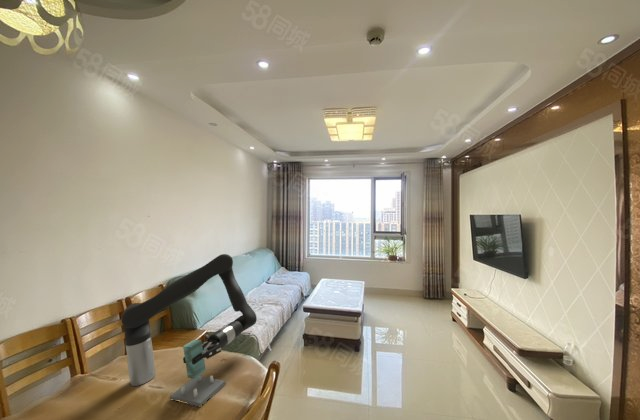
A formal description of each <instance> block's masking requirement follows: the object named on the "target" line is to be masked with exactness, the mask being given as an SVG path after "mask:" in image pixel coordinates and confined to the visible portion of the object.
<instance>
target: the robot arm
mask: <svg viewBox="0 0 640 420" xmlns="http://www.w3.org/2000/svg"><path fill="white" fill-rule="evenodd" d="M233 262H234V260H233V257H232V256H231V255H229V254H227V253H224V254H219V255H218V256H216V257H214V258H213V259H211V261H209V262H207V263H205V265H203V266H201V267H199V268H198V269H197V268H196V269H195V270H193V271H192V272H190V273H188V274H186V275H184V276H182V277H180V278H178V279H177V280H175V281H173V282H171V283H170V284H168V286H166V287H165V288H164V289H162V290H161V291H160V292H158V293H157V294H156V295H155V296H153V297H151V298H149V299H147V300H145V301H143V302H135V303H132V304H129V305H128V306H127V307H126V308H125V309H124V311H123V312H122V314H121V315H122V316H121V324H122V326H123V328H124V329H123V330H124V344H125V350H126V357H127V370H128V376H129V383H130V385H131V387H137V386H140V385H144V384H146V383H148V382H150V381H151V380H153V379H154V378H155V377H156V374H157V373H156V372H157V371H156V365H155V363H156V362H155V358H154V349H153V348H154V347H153V343H152V333H151V324H150V319H152V318H153V317H155V316H156V315H157V314H160V313H161V311H163V310H166V309H167V308H169V307H172V305H175V304H177V303H178V302H180V301H181V300H183V299H185V298H187V297H189V295H192V294H193V293H195V292H196V291H198V290H199V289H200V288H201V287H202V286H203V285H204V284H205V283H207V282H208V281H209V280H210V279H212V278H213V277H215V276H217V275H218V276H219V277H220V279H221V282H222V283H223V285H224V287H225V288H224V289H225V291H226V293H227V295H228V299H229V302H230V304H231V307H232V309H233V311H234V312H236V313H237V312H240V313H241V314H242V315H240V316H239V317H237V318H235V319H234V320H233V321H231V322H230V323H228V324H226V325H225V326H223V327H221V328H219V329H217V330H216V331H215V332H213V333H211V334H210V335H209V336H208V338H207V340H206V341H205V342H202V347H203V351H202V352H201V354H198V355H197V356H195V357H194V358H193V359H192V364H193V365H194V364H196V363H197V362H199V361H200V360H201V359H204V360H205V359H206V360H208V359H210V358H212V357H214V356H216V355H218V354H219V353H221V352H222V349H223V348H225V347H226V346H228V345H229V344H230V343H231V342H233V341H234V339H236V338H237V337H238V336H240V335H241V334H242V333H243V332H245V331H247V330H248V329H249V328H251V327H253V326H254V325H256V323H257V319H258V318H257V314H256V312H255V311H254V310H253V309H252V307H251V305H249V303H248V301H247V299H246V297H245V294H244V292H243V290H242V288H241V286H240V285H239V283H238V281H237V279H236V277H235V274H234V270H233V269H234V268H233V264H234V263H233ZM182 361H183V364H186V362H185V356H184V357H183V358H182Z"/></svg>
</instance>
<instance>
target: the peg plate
mask: <svg viewBox="0 0 640 420" xmlns="http://www.w3.org/2000/svg"><path fill="white" fill-rule="evenodd" d="M226 384H227V383H226V380H223V379H216V378H214V375H210V376H209V377H208V376H207V377H206V376H202V374H201V375H200V376H198V377H197V378H196V379H193V378H190V380H189V381H187V382H186V383H185V384H184V385H182V386H181V387H179V388H178V389H177V390H175V391H174V392H173V393H172V394H170V395H169V400H170V399H173V400H180V401H183V402H187V403H188V404H190V405H189V406H193V405H195V406H194V407H197V406H201V405H202V404H204V403H205V402H206V401H207V400H208V399H209V398H211V397H212V396H213V395H214V396H215V395H216V394H217V393H218V392H219V391H221V390H222V389H223V388H224V387H225V386H227V385H226ZM214 396H213V397H214ZM213 397H212V398H213ZM212 398H211V399H212ZM209 400H210V399H209ZM209 400H208V401H209ZM208 401H207V402H208ZM207 402H206V403H207ZM206 403H205V404H206ZM188 404H187V405H188ZM205 404H204V405H205Z"/></svg>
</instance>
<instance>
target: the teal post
mask: <svg viewBox="0 0 640 420" xmlns="http://www.w3.org/2000/svg"><path fill="white" fill-rule="evenodd" d="M202 344H203V342H202V340H201V339H193V340H192V341H190V342H188V343H186V344H184V345H183V346H182V347H183V352H184V353H183V355H184V357H185V362H186V363H185V368H186V374H187V378H189V379H196V378H197V377H198V376H200V375H201V376H202V374H203V373H205V372H206V371H207V367H206V363H205V362H206V361H205V359H201V360H200V361H199V362H197V363H196V364H194V365H193V364H192V359H193V358H194V357H195V356H197V355H198V354H201V352H202V351H203V347H202Z"/></svg>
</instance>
